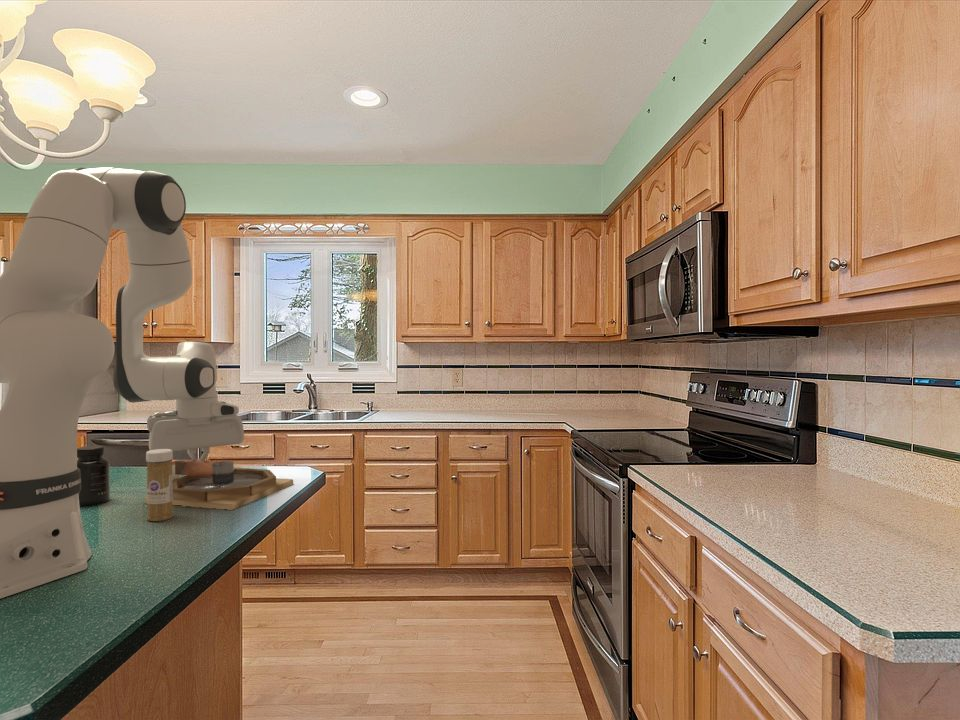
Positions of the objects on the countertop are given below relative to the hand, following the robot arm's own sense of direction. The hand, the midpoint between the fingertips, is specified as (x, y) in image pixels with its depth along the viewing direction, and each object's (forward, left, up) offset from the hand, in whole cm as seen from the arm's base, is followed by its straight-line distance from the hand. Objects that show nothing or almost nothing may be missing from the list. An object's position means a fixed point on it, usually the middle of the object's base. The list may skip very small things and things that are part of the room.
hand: (198, 466), depth 131 cm
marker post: (-3, +5, -5) cm, 8 cm away
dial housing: (-3, -9, -5) cm, 11 cm away
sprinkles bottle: (-22, -10, -5) cm, 25 cm away
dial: (-3, -7, -3) cm, 8 cm away
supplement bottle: (-16, +14, -5) cm, 22 cm away
